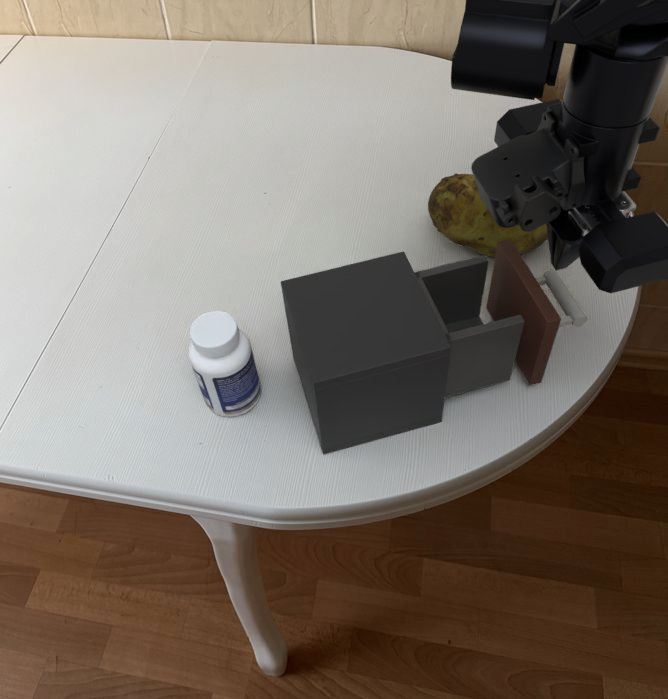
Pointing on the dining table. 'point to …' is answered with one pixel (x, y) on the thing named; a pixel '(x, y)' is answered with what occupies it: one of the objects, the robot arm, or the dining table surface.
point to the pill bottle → (223, 364)
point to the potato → (474, 218)
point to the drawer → (497, 318)
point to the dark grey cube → (366, 351)
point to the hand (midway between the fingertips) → (558, 266)
